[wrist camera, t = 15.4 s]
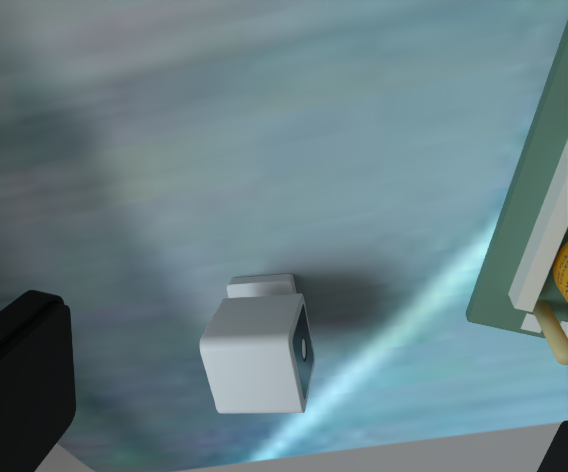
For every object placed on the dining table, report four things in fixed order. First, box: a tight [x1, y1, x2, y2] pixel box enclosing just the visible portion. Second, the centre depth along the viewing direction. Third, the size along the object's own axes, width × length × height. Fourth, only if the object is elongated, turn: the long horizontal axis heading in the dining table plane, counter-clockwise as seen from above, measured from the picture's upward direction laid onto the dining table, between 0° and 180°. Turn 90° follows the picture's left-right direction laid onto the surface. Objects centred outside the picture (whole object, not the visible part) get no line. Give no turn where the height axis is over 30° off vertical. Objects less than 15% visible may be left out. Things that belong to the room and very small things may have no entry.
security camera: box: [200, 274, 315, 413], centre depth 38 cm, size 6×7×10 cm
